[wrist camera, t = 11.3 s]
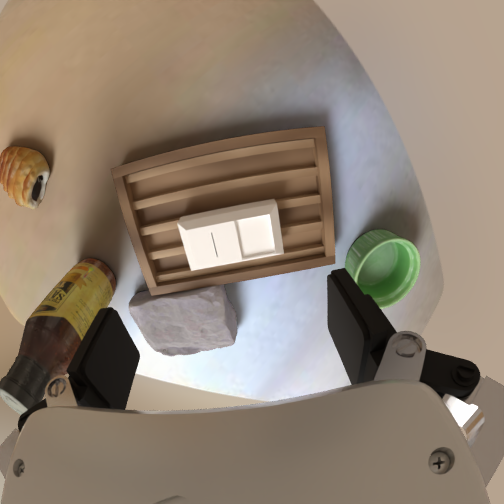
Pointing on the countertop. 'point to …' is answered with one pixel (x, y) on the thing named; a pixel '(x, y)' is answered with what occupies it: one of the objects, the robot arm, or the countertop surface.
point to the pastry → (24, 175)
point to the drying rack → (229, 203)
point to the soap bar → (231, 234)
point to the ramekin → (383, 266)
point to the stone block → (185, 320)
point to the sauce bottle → (56, 332)
